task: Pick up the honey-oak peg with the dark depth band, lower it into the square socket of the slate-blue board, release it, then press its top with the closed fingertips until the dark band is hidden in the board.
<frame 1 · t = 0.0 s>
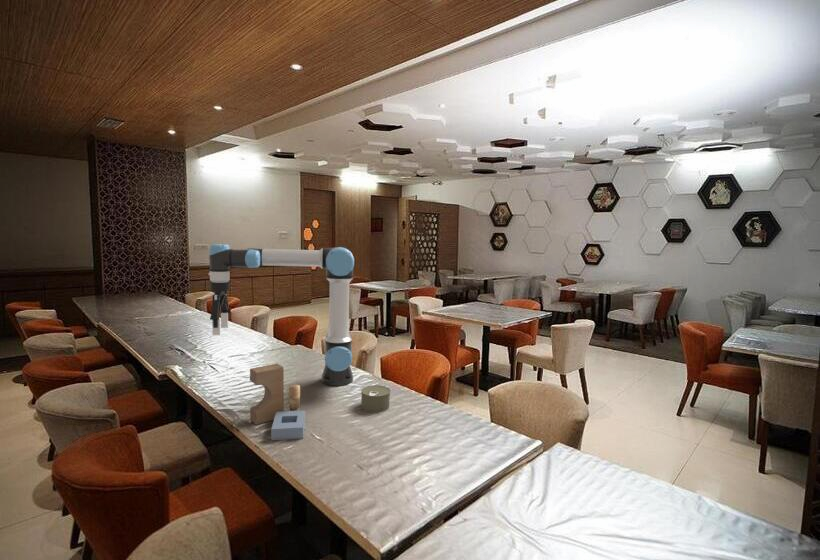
hand: (220, 331, 174), 28 cm above the table, fingers open, 13 cm apart
can: (375, 406, 172), on the table
peg: (294, 416, 160), on the table
decorative block: (267, 419, 157), on the table
board: (289, 429, 149), on the table
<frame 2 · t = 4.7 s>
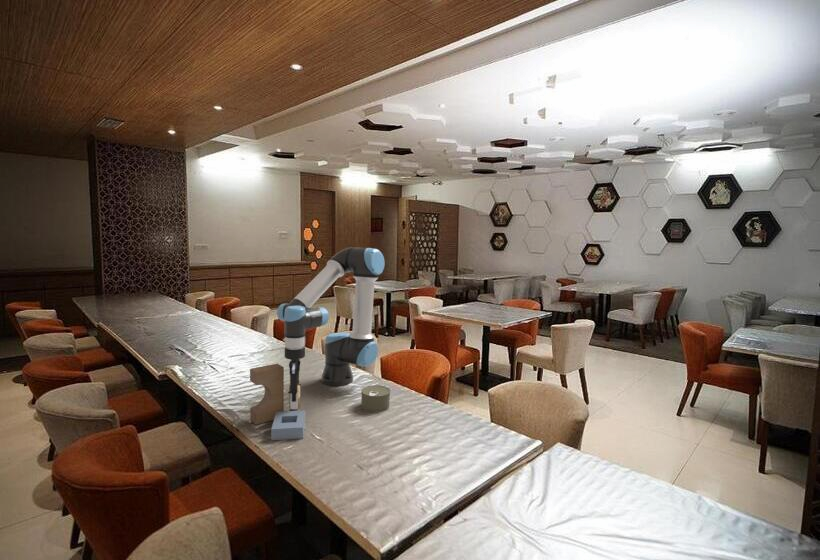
hand: (294, 406, 159), 4 cm above the table, fingers closed on peg, 4 cm apart
peg: (294, 416, 160), on the table, touching gripper
everything else where it was.
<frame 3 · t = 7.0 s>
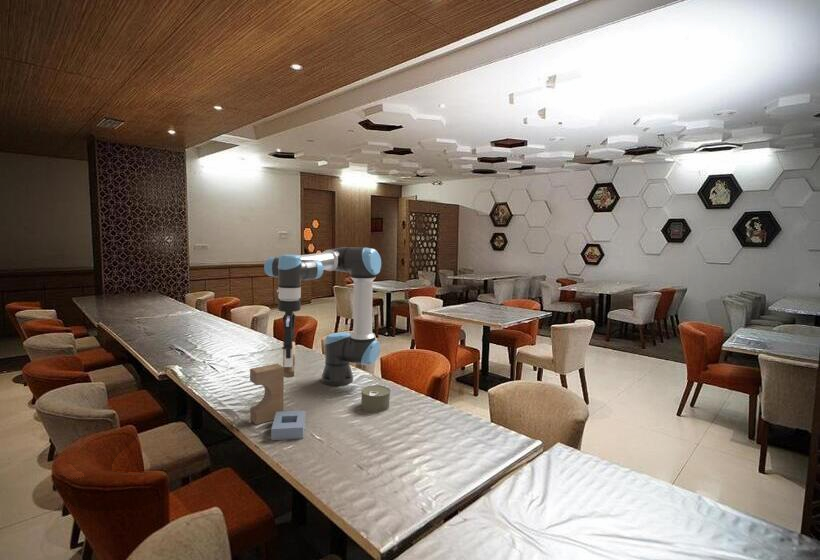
hand: (289, 364, 146), 24 cm above the table, fingers closed on peg, 4 cm apart
peg: (288, 375, 146), point 20 cm above the table, touching gripper
everything else where it was.
when the fingers open (5 cm above the table, at t = 9.6 s): peg stays where it is, resting in board.
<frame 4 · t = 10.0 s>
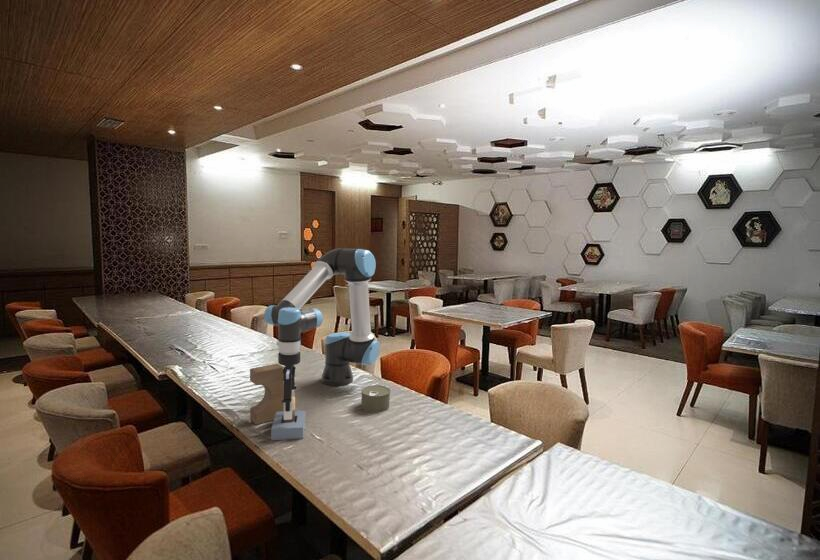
hand: (289, 413, 148), 6 cm above the table, fingers open, 9 cm apart
peg: (289, 429, 149), resting in board
everything else where it was.
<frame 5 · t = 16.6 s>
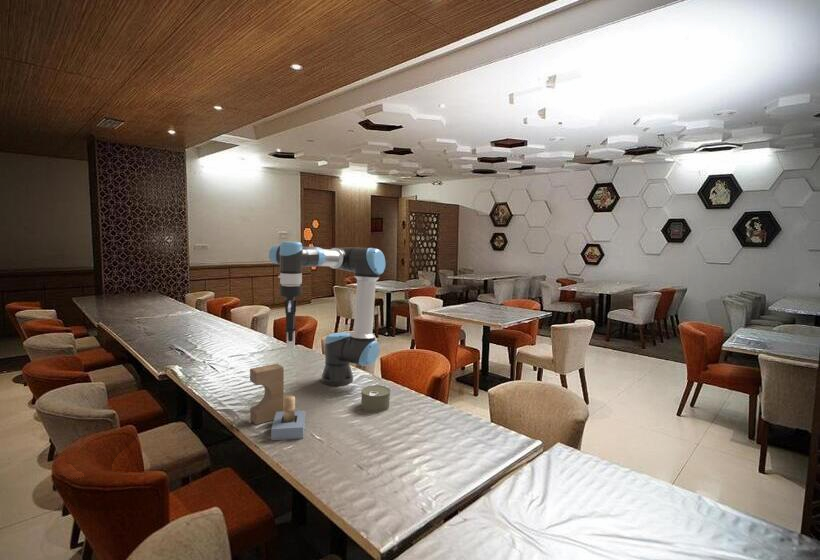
hand: (290, 349, 150), 28 cm above the table, fingers closed
nothing on the table moved.
at the end: peg 0.0 cm off-centre on the board, point 0.0 cm above the board's base; peg tilted 0°; the gripper is holding nothing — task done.
